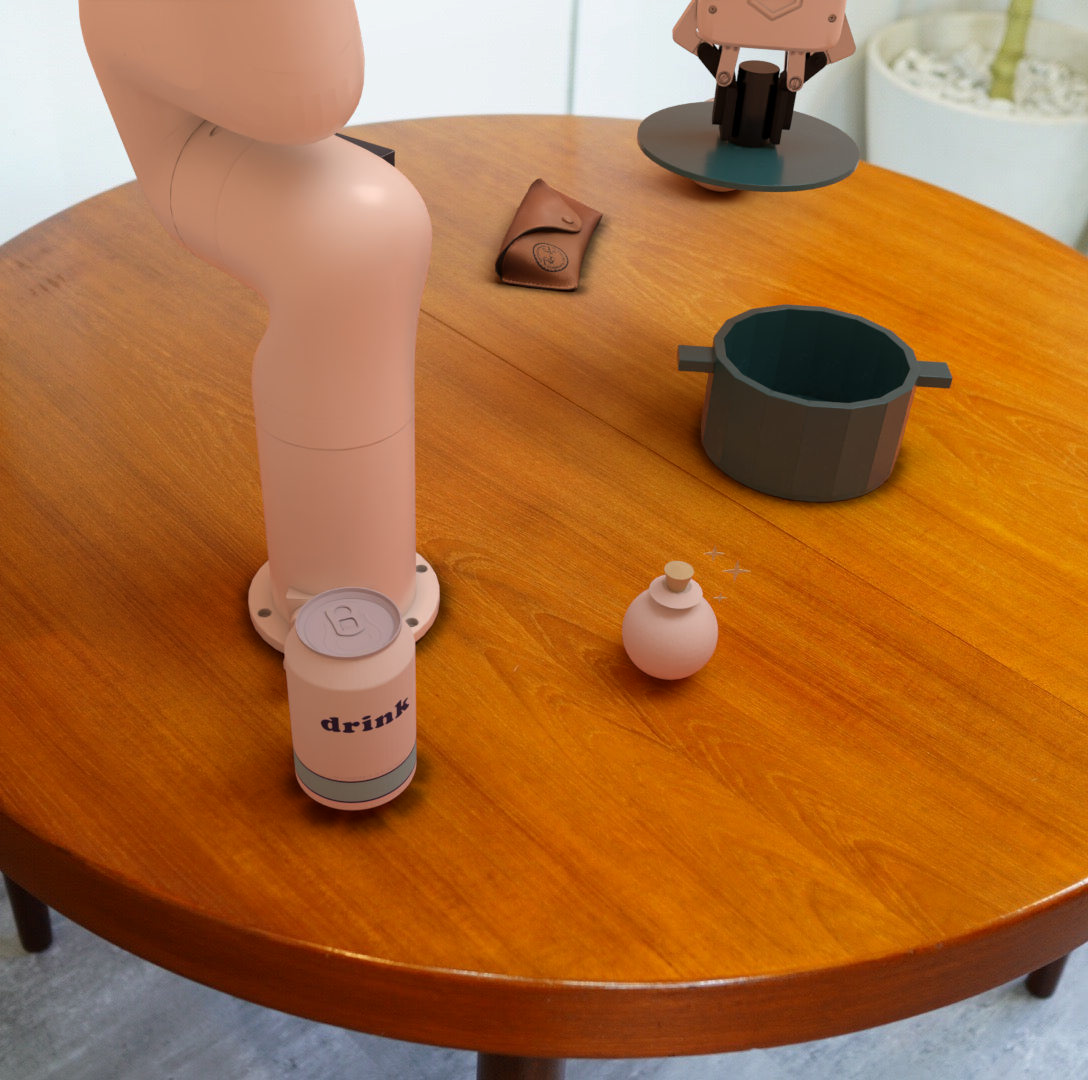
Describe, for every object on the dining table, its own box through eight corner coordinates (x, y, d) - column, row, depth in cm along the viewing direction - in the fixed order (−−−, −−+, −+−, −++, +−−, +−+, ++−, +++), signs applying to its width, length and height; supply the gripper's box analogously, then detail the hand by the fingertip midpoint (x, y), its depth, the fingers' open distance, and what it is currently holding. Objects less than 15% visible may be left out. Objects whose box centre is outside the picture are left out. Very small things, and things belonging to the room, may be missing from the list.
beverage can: (315, 836, 73) (302, 680, 65) (282, 750, 78) (267, 595, 70) (433, 802, 75) (433, 647, 68) (394, 720, 80) (390, 567, 73)
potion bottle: (613, 634, 87) (627, 514, 81) (724, 634, 88) (746, 515, 82) (623, 699, 83) (638, 577, 76) (740, 699, 83) (765, 577, 77)
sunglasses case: (582, 288, 125) (550, 228, 121) (518, 314, 127) (485, 256, 124) (605, 211, 139) (577, 155, 136) (547, 237, 142) (518, 182, 138)
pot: (946, 511, 100) (974, 416, 95) (671, 492, 100) (684, 397, 95) (909, 402, 113) (932, 313, 107) (664, 386, 113) (675, 296, 107)
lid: (871, 208, 93) (892, 116, 89) (636, 191, 93) (645, 98, 89) (842, 122, 106) (859, 39, 102) (635, 107, 106) (644, 23, 102)
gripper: (668, -131, 85) (640, 147, 96) (923, -113, 84) (864, 163, 96) (666, -154, 91) (639, 110, 102) (904, -137, 90) (851, 126, 102)
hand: (749, 133), depth 99 cm, fingers closed on lid, 3 cm apart
